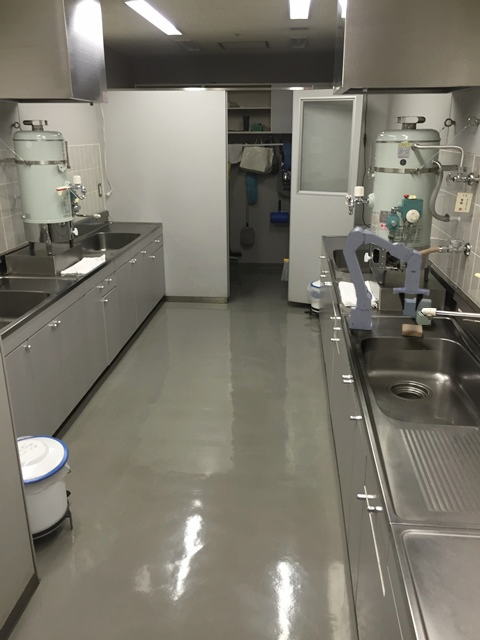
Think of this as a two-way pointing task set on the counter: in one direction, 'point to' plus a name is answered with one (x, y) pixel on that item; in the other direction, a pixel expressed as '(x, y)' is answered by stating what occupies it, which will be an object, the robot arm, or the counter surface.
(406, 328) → the oak block
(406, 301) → the blue block
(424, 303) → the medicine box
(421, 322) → the green block
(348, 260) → the robot arm
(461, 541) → the counter surface
